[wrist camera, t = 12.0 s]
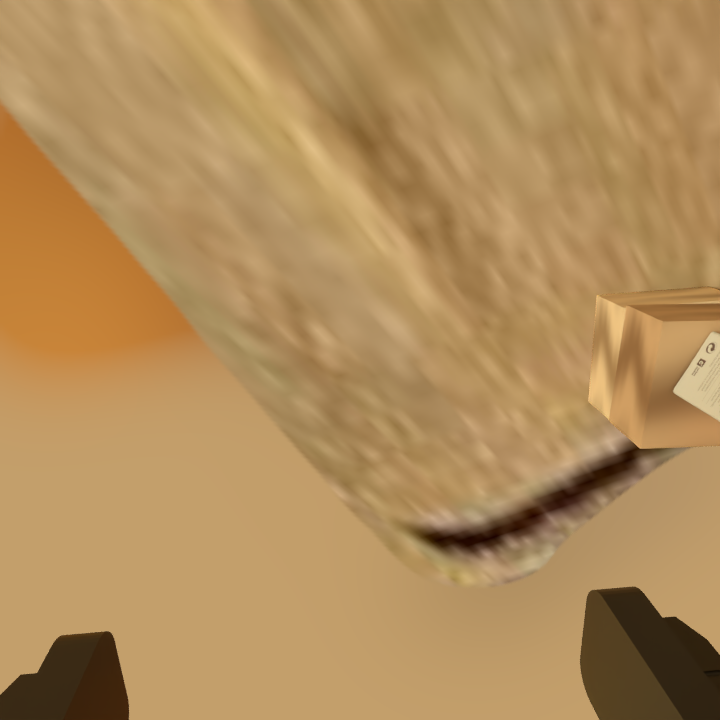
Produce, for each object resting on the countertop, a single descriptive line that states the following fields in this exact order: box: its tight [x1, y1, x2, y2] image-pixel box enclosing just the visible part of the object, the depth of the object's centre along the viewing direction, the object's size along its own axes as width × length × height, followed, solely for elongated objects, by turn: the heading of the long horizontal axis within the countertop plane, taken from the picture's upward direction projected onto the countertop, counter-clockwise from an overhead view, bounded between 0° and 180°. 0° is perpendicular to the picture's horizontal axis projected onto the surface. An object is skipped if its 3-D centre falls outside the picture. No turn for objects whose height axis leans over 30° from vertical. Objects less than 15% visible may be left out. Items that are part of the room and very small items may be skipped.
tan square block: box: [609, 303, 720, 449], centre depth 36 cm, size 8×8×4 cm
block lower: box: [588, 287, 720, 419], centre depth 40 cm, size 8×8×4 cm
